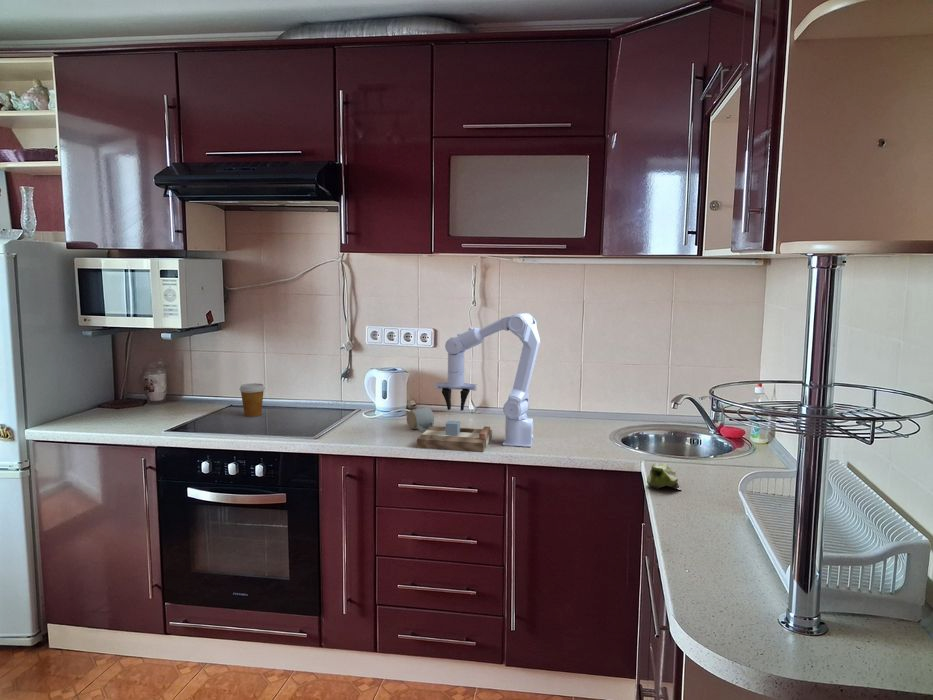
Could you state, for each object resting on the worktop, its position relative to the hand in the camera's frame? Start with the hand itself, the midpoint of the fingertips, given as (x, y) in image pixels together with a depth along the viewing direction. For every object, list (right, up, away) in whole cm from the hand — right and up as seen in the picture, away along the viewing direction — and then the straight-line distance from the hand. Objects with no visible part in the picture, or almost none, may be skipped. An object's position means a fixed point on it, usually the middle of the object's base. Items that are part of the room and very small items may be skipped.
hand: (455, 409), depth 231 cm
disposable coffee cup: (-81, -5, +30) cm, 87 cm away
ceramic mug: (-12, -8, +10) cm, 18 cm away
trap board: (0, -11, -8) cm, 13 cm away
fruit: (+57, -17, -51) cm, 78 cm away
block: (-1, -8, -8) cm, 11 cm away
